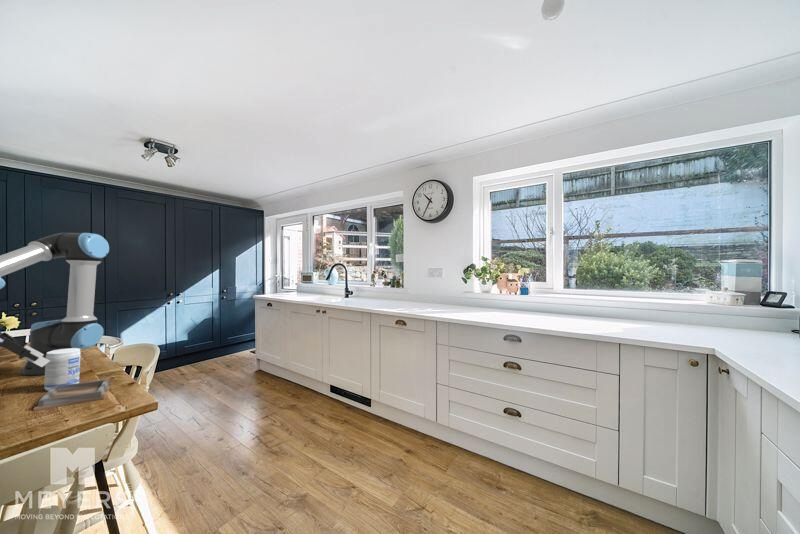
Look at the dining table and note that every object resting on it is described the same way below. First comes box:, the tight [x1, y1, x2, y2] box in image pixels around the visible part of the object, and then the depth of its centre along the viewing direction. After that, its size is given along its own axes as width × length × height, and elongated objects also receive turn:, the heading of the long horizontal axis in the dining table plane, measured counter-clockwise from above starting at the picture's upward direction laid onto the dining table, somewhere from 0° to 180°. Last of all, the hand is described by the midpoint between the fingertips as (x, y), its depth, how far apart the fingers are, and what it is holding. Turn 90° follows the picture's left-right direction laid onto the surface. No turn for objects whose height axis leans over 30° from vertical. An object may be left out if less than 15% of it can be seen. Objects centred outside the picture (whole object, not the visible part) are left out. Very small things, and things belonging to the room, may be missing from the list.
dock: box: [32, 378, 112, 412], centre depth 114 cm, size 17×17×3 cm
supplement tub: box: [43, 348, 81, 392], centre depth 122 cm, size 10×10×15 cm
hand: (43, 360), depth 117 cm, fingers open, 13 cm apart
